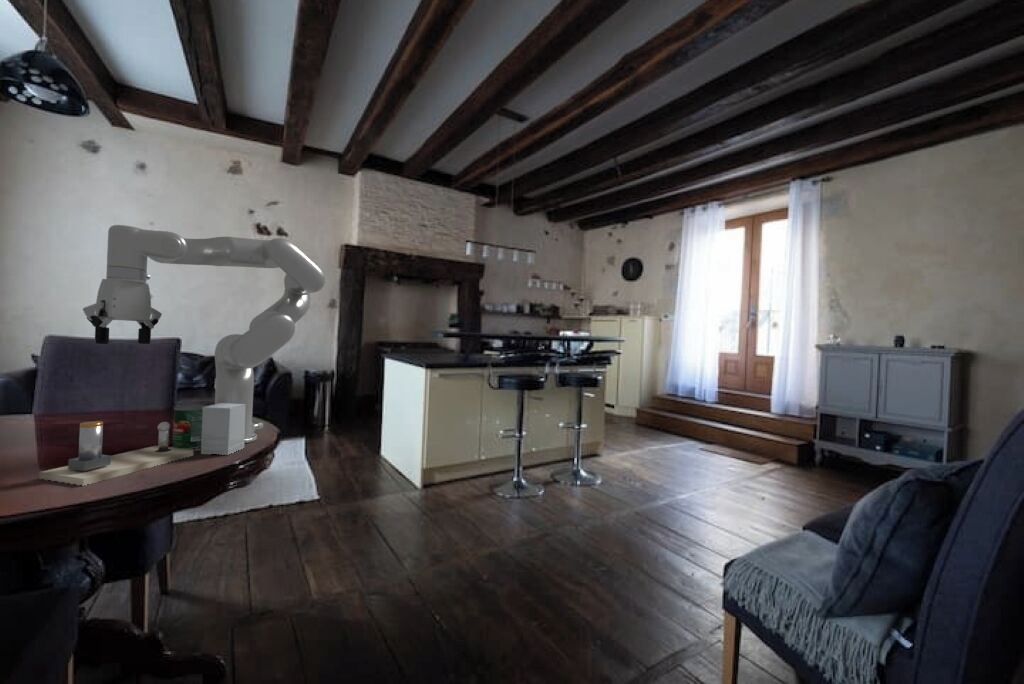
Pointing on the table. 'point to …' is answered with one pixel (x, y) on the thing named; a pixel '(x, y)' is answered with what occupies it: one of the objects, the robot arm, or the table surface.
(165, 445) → the fixed leg
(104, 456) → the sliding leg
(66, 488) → the table surface
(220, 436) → the supplement box
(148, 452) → the hole plate
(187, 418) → the canned tomato
